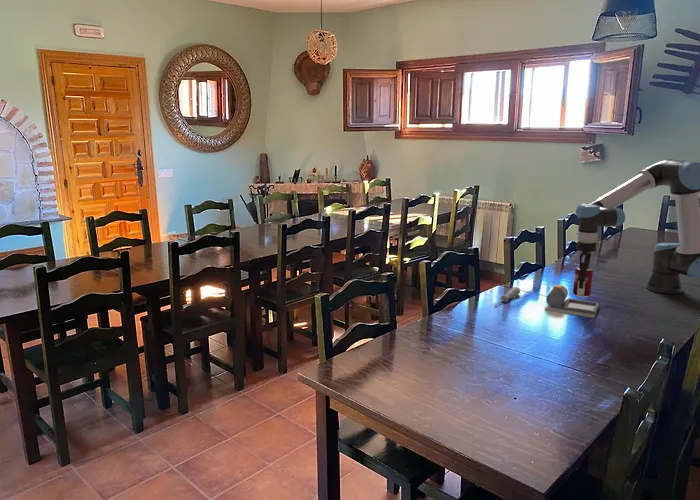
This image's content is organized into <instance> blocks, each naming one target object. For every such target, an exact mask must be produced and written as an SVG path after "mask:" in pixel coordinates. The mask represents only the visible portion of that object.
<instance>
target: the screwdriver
mask: <svg viewBox="0 0 700 500" xmlns="http://www.w3.org/2000/svg"><path fill="white" fill-rule="evenodd" d="M520 293H521V288H520V287H516V286H513V287H511V288H510V289H509V290H508V292H507V293H505V294H504V295H501V296H500V300H499V301H498V302H497V303H495V304H494V305H493V307H497V305H500V303H502V302H503V303H507V302H508V301H509V300H510V299H512V298H515V297H518V295H519V294H520Z"/></svg>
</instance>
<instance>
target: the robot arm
mask: <svg viewBox="0 0 700 500" xmlns="http://www.w3.org/2000/svg"><path fill="white" fill-rule="evenodd" d="M661 186H667V187H669V189H670V192H669V193H670V194H671V195H672V196H674V200H675V210H676V211H675V212H676V221H677V222H676V224H677V233H678V242H660V243H657V244H656V245H655V246H654V251H653V259H652V266H651V267H652V268H651V273H650V275H649V277H648V279H647V281H646V283H645V288H646V289H647V290H649V291H651V292H655V293H660V294H667V295H677V294H681V293H682V292H683V284H682V279H681V276H680V275H682V276H687V277H688V278H691V279H692V278H693V279H697V280H698V279H700V202H699V201H700V200H699V199H700V198H699V194H700V162H699V161H694V160H689V159H688V160H684V159H673V158H672V159H669V158H668V159H663V160H660V161H657V162H656V163H653V164H651V165H649V166H647V167H645V168H644V169H642V170H640V171H638V174H637V175H636V176H634V177H632V178H631V179H629V180H627V181H626V182H624V183H622V184H620V185H619V186H617V187H615V188H614V189H612V190H610V191H608V192H607V193H605V194H603V195H602V196H599V198H596V199H595V200H593V201H591V202H588V203H587V202H586V203H580V204H579V205H577V207H576V209H575V215H576V217H577V218H578V229H577V230H578V232H576V235H577V240H578V241H577V243H576V250H578V251H580V252H581V253H580V254H579V265H578V267H579V274H578V279H577V280H578V289H577V295H582V296H584V290H585V276H586V269H587V267H590V263H591V257H592V252H595V251H597V241H598V235H599V233H598V231H599V228H604V227H605V228H607V227H613V228H614V227H618V226H619V227H620V226H621V225H623V224H624V223H625V221H626V214H625V211H624V210H623V209H621V208H617V207H619V206H620V205H622V204H624V203H626V202H628V201H629V200H631V199H633V198H634V197H636V196H638V195H640V194H641V193H643V192H645V191H646V190H652V189H655V188H657V187H661Z"/></svg>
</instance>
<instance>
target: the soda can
mask: <svg viewBox="0 0 700 500" xmlns="http://www.w3.org/2000/svg"><path fill="white" fill-rule="evenodd" d="M578 274H579V266H576V267H575V268H574V276H573V285H572V286H573V287H572V294H573V295H574V296H575V297H578V298H579V297H580V298H589V297H591V295H592V286H593V278H594V277H593V276H594V269H593V267H590V266H589V267H587V269H586V276H585V290H584V296H582V295H577V289H578V280H577V279H578Z"/></svg>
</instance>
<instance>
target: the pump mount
mask: <svg viewBox="0 0 700 500" xmlns="http://www.w3.org/2000/svg"><path fill="white" fill-rule="evenodd" d="M568 296H569V291H568V288H567V287H565V286H564V285H563V284H558V283H557V284H554V285H553V287H552V289H551V290H550V291H549V292H548V294H547V295H546V297H545V298H546V303H547V304H546V305H545V306H544V311H548V312H549V311H550V312H555V313H562V314H567V315H573V316H574V315H575V316H581V317H585V318H586V317H588V318H593V319H595V317H596V315H597V312H598V311H599V310H598V309H599V307H600V303H599V302H596V301H589V300H583V299H576V298H569V297H568ZM567 297H568V298H567Z"/></svg>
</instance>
